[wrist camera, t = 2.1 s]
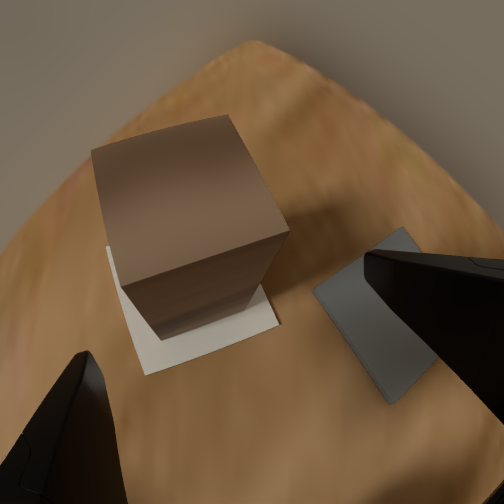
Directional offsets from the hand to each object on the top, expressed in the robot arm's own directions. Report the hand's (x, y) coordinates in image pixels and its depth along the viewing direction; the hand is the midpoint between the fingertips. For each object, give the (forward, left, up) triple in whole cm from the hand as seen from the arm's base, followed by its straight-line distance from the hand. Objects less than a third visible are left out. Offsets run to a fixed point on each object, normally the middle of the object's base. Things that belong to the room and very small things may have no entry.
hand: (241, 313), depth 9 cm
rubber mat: (-5, -13, -11) cm, 18 cm away
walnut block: (+5, -1, -11) cm, 12 cm away
